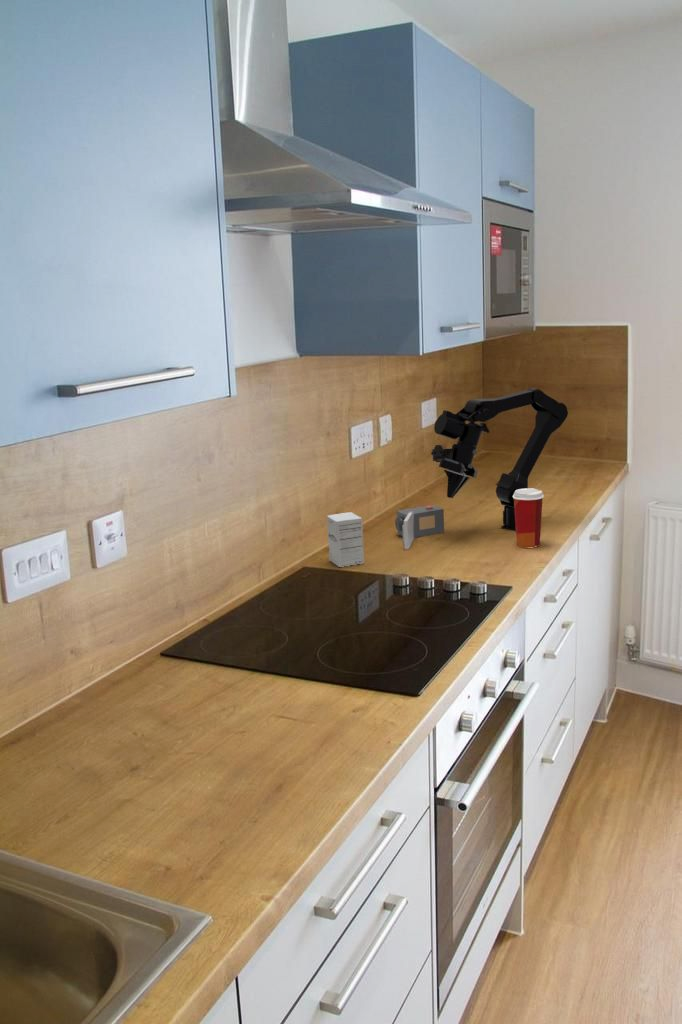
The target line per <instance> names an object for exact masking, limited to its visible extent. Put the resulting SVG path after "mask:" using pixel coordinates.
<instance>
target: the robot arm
mask: <svg viewBox="0 0 682 1024" xmlns="http://www.w3.org/2000/svg"><path fill="white" fill-rule="evenodd" d="M529 405H530V407H531V408H532V410H534V411H535V412H536V415H535V419H534V420H535V421H534V426H535V427H534V429H533V431H532V433H531V435H529V436H530V437H529V438H528V440H527V442H526V443H525V446H524V447H523V449H522V451H521V454H520V455H519V457H518V459H517V461H516V462H515V465H514V467H513V469H511V471H510V472H508V473H505V472H502V473H501V475H500V478H499V480H498V482H496V483H495V486H496V488H495V493H496V498H497V499H498V500H499V501H500V504H501V505H502V506H503V510H502V525H501V527H500V528H501V529H507V530H513V531H514V530H515V531H516V524H515V509H514V498H513V495H514V493H515V490H518V489H525V488H529V486H528V485H529V476H530V475H531V472H532V471H533V469H534V467H535V465H536V463H537V461H538V459H539V458H540V456H541V455H542V452H543V449H544V448H545V446H546V444H547V443H548V441H549V438H550V437H551V435H552V434H553V433H554V432H556V431H557V430H558V429H559V428H561V426H562V425H563V424H564V423H565V422H566V419H567V418H568V415H569V411H568V407H567V406H566V404H565V403H563V402H558V401H557V400H556V399H554V398H552V397H550V396H549V395H547V394H546V393H544V391H542V390H541V389H539V388H534V387H533V388H532V387H530V388H527V389H524V390H521V391H517V392H513V393H509V394H505V395H501V396H498V397H494V398H472V399H469V400H467V401H466V404H465V406H463V407H462V408H461V409H459V411H457V412H456V413H453V412H452V411H449V410H445V409H444V410H442V414H440V415H439V416H438V417H437V419H435V423H434V427H433V429H434V433H435V434H437V435H440V436H442V437H446V438H448V439H452V440H456V439H457V441H456V443H453V444H452V445H451V448H444V446H443V445H441V444H435V445H434V448H432V449H431V452H430V454H431V456H432V462H435V463H439V465H438V467H439V468H443V471H444V473H445V474H446V476H447V489H446V490H447V492H446V497H447V498H449V499H453V498H454V497H455V496H456V495H457V494H458V493H459V491H460V490H461V489H462V488H463V487H464V486H465V485H466V483H467V482H469V481H470V480H471V478H477V475H478V468H476V467H474V465H473V464H472V463H473V460H474V457H475V455H478V452H479V451H478V450H477V448H478V445H479V441H480V439H481V436H482V433H486V434H488V433H490V430H489V428H488V426H487V423H485V422H487V421H489V420H491V419H494V418H496V417H497V416H498V414H501V413H503V412H507V411H511V410H515V409H518V408H521V407H526V406H529ZM466 422H468V423H466ZM477 422H480V423H477Z"/></svg>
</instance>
